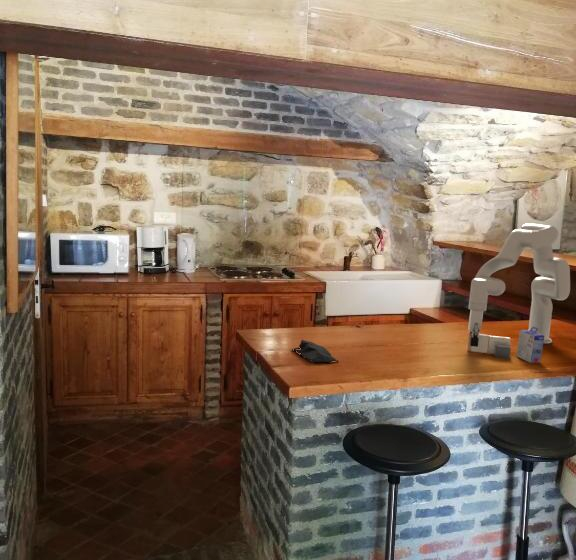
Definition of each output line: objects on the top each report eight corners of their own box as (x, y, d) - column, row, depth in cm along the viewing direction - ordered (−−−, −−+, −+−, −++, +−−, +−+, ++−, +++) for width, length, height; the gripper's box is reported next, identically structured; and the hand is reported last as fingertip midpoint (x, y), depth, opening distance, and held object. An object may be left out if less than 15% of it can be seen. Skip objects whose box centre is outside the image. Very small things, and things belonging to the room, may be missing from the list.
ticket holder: (486, 349, 259) (488, 333, 257) (507, 352, 256) (509, 335, 255) (487, 356, 249) (489, 338, 248) (509, 358, 247) (511, 340, 245)
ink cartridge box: (541, 363, 243) (545, 330, 240) (530, 363, 241) (534, 330, 239) (526, 355, 252) (530, 324, 250) (515, 356, 251) (519, 324, 248)
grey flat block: (467, 349, 257) (469, 332, 255) (486, 351, 255) (487, 334, 253) (467, 350, 255) (469, 333, 254) (486, 353, 253) (488, 335, 252)
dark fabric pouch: (306, 366, 227) (306, 354, 226) (290, 350, 248) (290, 339, 247) (341, 364, 231) (342, 353, 230) (323, 348, 252) (323, 338, 251)
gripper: (467, 301, 261) (464, 337, 264) (469, 309, 244) (465, 347, 247) (485, 303, 259) (480, 339, 262) (487, 311, 242) (483, 349, 245)
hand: (473, 343), depth 254 cm, fingers open, 9 cm apart
